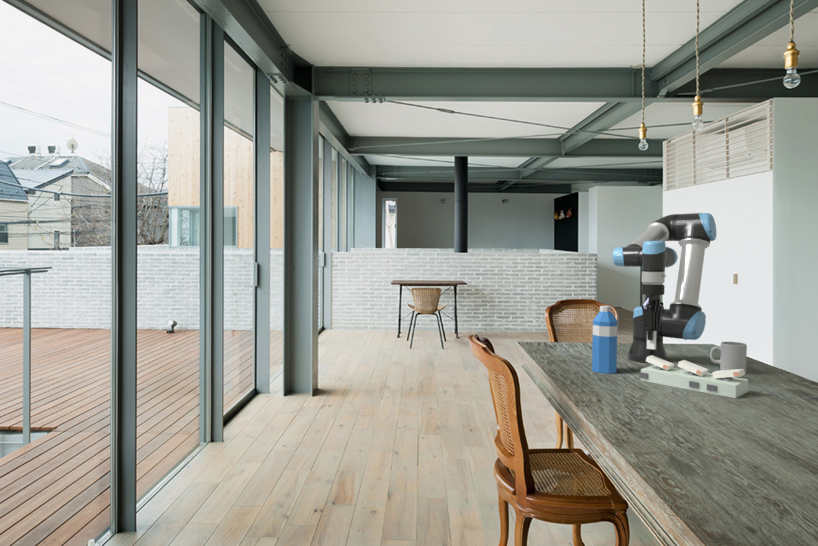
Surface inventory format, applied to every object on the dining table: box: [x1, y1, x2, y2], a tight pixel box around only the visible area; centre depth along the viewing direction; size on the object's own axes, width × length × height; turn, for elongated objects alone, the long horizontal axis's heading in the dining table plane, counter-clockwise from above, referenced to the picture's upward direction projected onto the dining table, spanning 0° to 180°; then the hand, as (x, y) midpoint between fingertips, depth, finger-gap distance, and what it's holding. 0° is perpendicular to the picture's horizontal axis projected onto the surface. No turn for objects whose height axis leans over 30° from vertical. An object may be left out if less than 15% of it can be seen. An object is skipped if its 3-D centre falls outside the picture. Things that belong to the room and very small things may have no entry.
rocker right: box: [711, 369, 746, 378], centre depth 169 cm, size 8×5×2 cm, turn 40°
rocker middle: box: [677, 359, 709, 376], centre depth 177 cm, size 8×5×2 cm, turn 41°
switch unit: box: [639, 364, 749, 399], centre depth 177 cm, size 30×12×5 cm, turn 41°
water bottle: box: [591, 305, 618, 375], centre depth 199 cm, size 9×9×25 cm
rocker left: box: [645, 355, 675, 370], centre depth 186 cm, size 8×5×2 cm, turn 41°
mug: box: [709, 341, 748, 375], centre depth 199 cm, size 12×8×11 cm
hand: (651, 348), depth 187 cm, fingers closed
